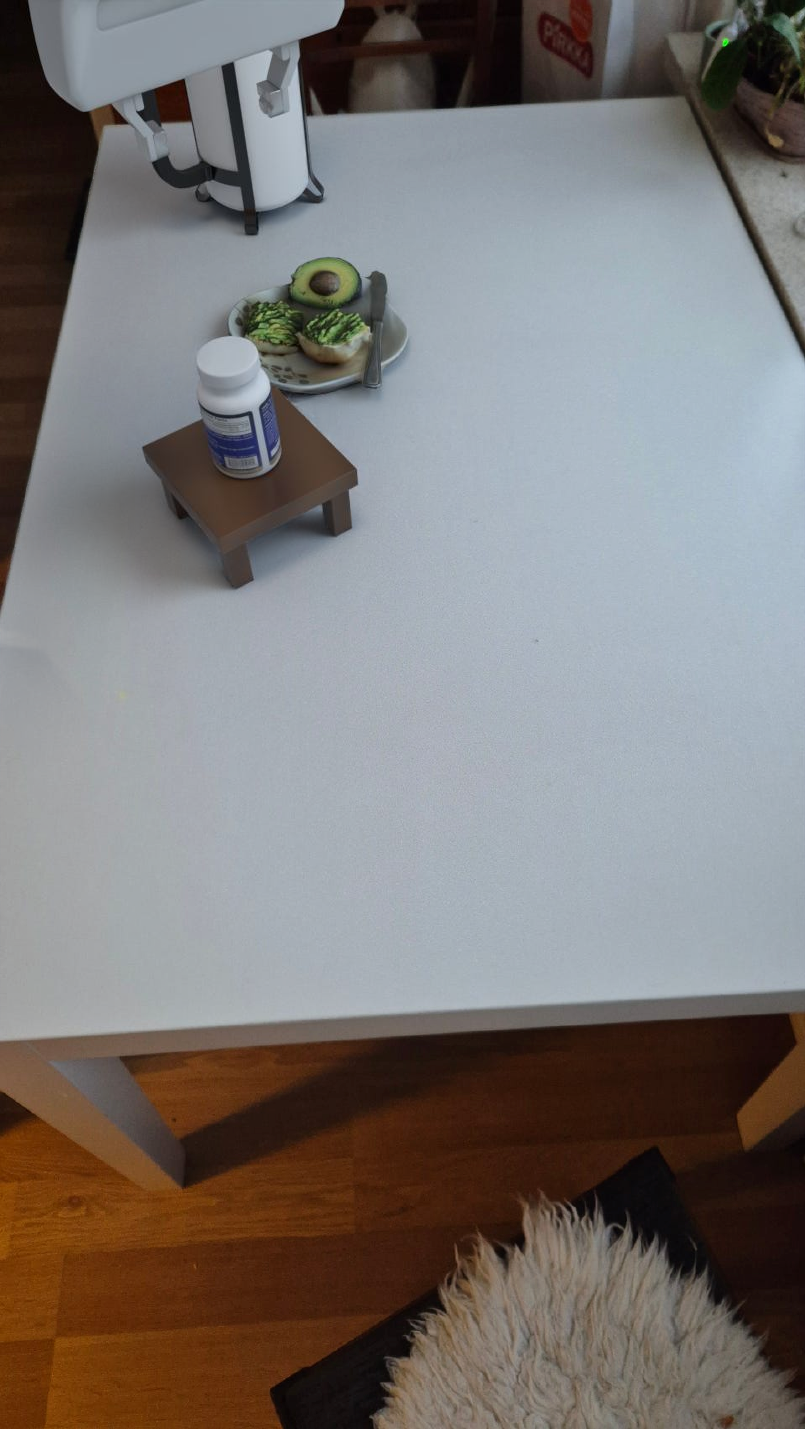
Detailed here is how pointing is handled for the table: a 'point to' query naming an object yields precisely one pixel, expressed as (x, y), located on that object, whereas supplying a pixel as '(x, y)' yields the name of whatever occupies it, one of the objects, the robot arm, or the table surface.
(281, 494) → the stand
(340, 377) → the avocado toast plate
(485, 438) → the table surface
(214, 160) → the coffee press
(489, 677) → the table surface
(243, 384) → the pill bottle
